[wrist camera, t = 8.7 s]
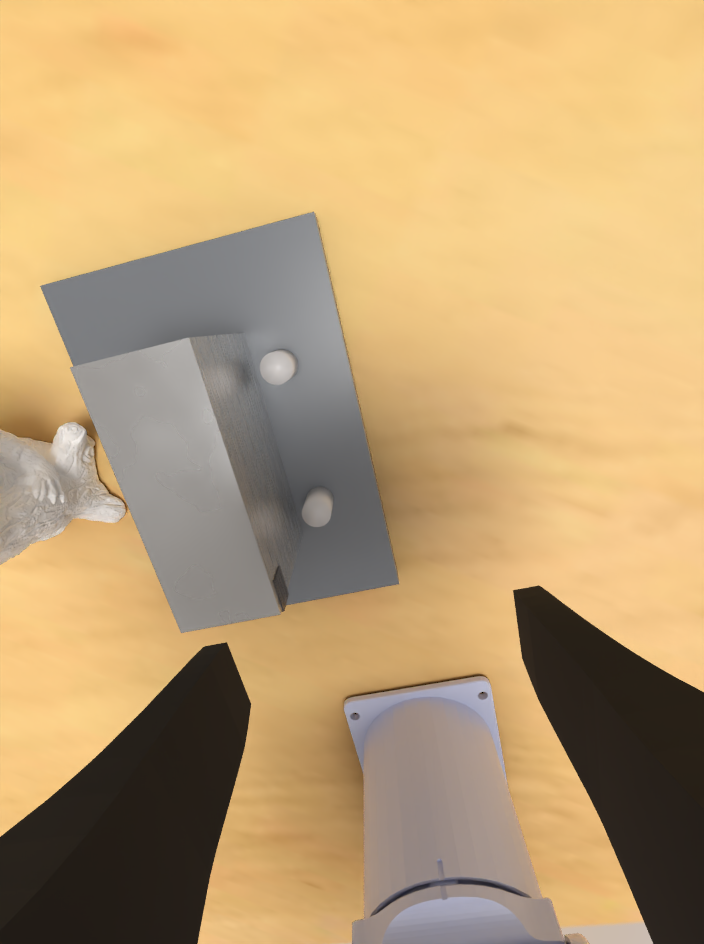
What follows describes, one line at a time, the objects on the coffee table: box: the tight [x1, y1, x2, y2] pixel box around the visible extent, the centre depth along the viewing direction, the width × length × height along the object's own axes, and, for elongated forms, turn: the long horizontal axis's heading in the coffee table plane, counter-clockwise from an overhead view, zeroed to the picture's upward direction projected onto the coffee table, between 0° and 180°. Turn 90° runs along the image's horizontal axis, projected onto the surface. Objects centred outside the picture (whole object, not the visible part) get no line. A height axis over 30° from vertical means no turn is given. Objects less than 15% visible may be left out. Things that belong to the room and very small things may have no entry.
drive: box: [70, 333, 303, 633], centre depth 16 cm, size 9×4×6 cm, turn 13°
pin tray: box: [40, 212, 399, 605], centre depth 19 cm, size 16×11×3 cm
